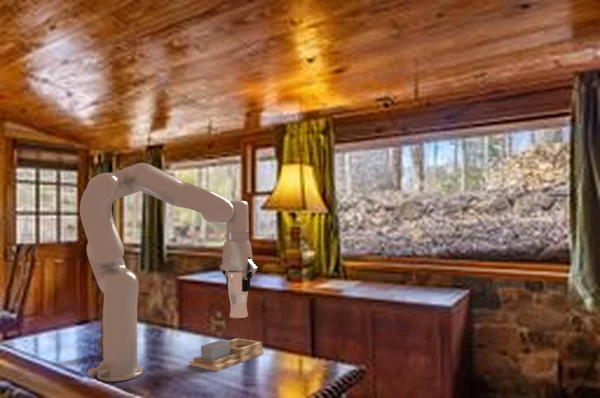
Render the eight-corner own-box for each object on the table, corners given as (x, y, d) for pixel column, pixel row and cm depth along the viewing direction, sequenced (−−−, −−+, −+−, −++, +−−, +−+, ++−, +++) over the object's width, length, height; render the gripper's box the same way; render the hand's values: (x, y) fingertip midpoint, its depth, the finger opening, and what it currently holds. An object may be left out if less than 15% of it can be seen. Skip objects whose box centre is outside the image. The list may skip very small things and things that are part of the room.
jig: (217, 371, 151) (217, 357, 151) (189, 365, 158) (189, 352, 158) (263, 354, 169) (263, 342, 170) (236, 349, 176) (236, 338, 176)
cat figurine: (128, 354, 172) (128, 319, 173) (108, 360, 166) (108, 323, 166) (113, 351, 177) (112, 316, 177) (92, 356, 170) (92, 320, 171)
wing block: (211, 364, 154) (211, 347, 155) (201, 362, 157) (200, 346, 157) (230, 357, 162) (230, 341, 162) (219, 355, 164) (219, 340, 164)
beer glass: (251, 314, 172) (250, 270, 173) (246, 318, 165) (246, 272, 166) (231, 314, 173) (230, 270, 173) (226, 318, 166) (225, 272, 166)
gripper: (211, 237, 172) (211, 290, 171) (250, 238, 162) (250, 294, 161) (226, 236, 178) (226, 287, 177) (264, 237, 168) (265, 291, 167)
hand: (238, 290), depth 169 cm, fingers closed on beer glass, 6 cm apart
